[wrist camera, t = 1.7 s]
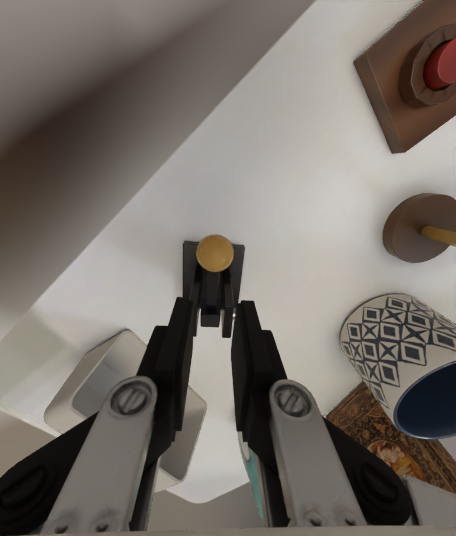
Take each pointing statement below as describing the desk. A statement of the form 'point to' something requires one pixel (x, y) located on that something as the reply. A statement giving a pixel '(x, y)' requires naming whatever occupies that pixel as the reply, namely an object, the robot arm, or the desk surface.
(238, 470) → the desk surface
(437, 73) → the button
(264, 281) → the desk surface
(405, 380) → the planter
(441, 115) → the button base
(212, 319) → the switch lever
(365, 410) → the book
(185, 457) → the white storage bin
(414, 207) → the lamp
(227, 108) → the desk surface
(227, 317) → the switch bracket
